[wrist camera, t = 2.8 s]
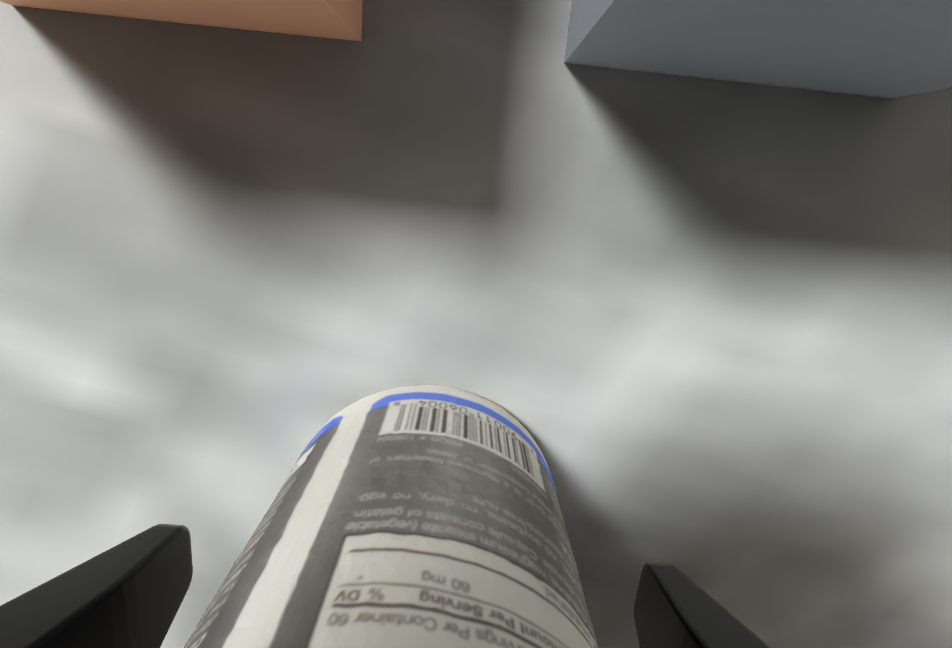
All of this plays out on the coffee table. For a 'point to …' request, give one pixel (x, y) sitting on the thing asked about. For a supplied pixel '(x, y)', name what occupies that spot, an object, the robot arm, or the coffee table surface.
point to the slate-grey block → (773, 42)
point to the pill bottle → (408, 538)
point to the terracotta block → (230, 14)
